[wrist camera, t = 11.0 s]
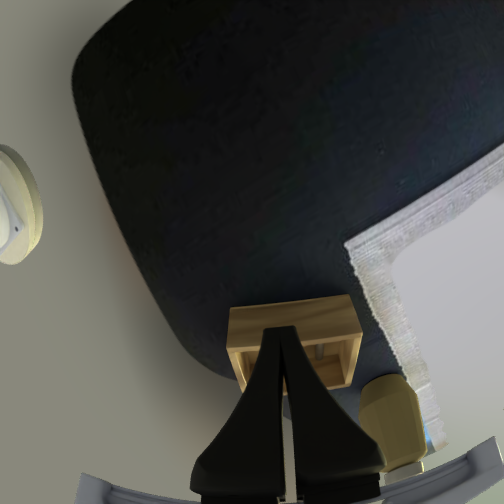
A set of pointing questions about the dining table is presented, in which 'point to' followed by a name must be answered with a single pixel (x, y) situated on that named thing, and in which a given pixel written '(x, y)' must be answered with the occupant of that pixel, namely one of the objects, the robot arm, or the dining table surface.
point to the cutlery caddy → (300, 336)
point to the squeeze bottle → (394, 425)
